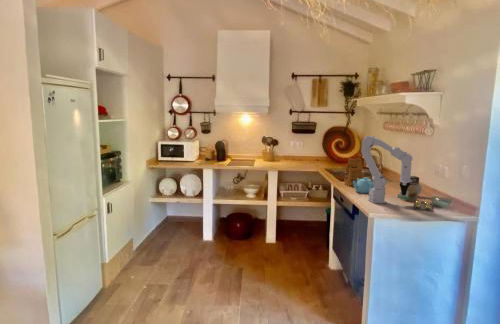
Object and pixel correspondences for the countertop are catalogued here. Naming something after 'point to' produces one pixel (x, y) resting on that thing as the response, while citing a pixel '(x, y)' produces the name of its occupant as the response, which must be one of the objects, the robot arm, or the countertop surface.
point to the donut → (419, 189)
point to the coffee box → (413, 189)
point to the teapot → (363, 185)
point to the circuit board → (403, 195)
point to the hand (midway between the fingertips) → (403, 194)
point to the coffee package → (353, 171)
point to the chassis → (422, 206)
